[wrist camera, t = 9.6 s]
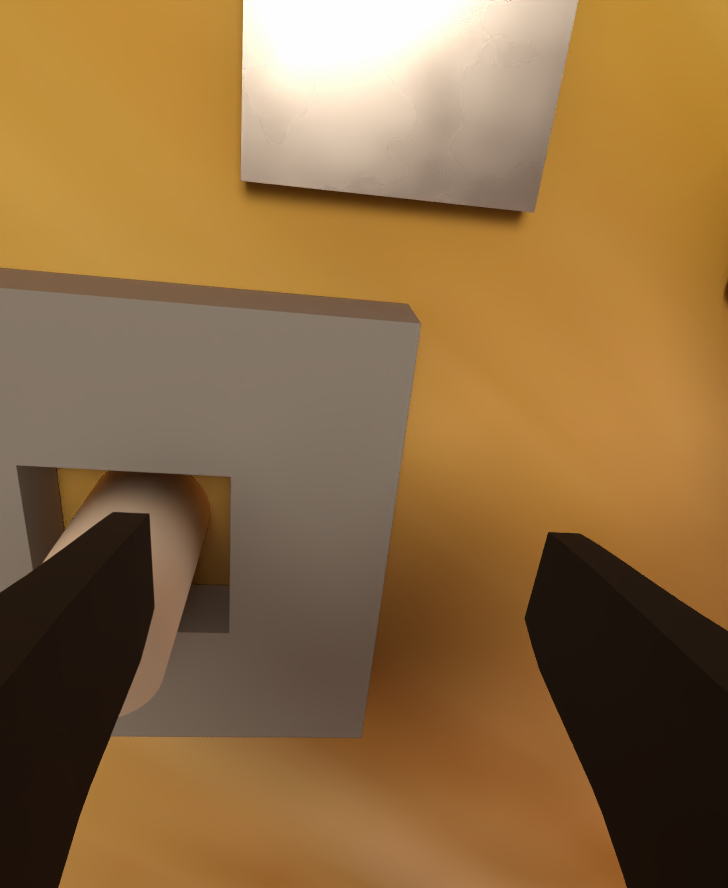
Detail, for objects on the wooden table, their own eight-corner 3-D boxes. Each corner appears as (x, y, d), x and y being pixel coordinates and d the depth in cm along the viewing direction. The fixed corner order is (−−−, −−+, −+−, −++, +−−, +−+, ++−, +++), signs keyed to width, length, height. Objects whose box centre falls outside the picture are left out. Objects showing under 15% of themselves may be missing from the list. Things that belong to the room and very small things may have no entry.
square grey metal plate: (595, -152, 14) (614, -174, 13) (522, 210, 17) (534, 212, 16) (251, -215, 13) (246, -243, 12) (244, 179, 16) (240, 180, 16)
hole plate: (407, 304, 18) (422, 325, 16) (357, 685, 25) (361, 742, 22) (-159, 253, 16) (-241, 269, 14) (-51, 679, 23) (-94, 739, 21)
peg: (211, 463, 20) (164, 600, 14) (209, 560, 22) (166, 723, 15) (87, 454, 20) (-21, 592, 13) (95, 554, 21) (2, 719, 15)
